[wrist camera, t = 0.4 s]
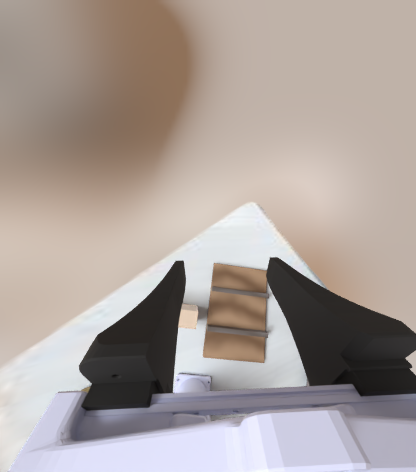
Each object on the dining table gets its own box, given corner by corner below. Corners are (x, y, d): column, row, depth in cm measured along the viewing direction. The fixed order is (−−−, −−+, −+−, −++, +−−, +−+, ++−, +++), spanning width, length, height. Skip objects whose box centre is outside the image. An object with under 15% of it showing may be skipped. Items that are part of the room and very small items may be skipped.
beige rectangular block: (195, 320, 37) (195, 329, 31) (143, 314, 36) (133, 322, 30) (197, 305, 38) (198, 311, 32) (146, 299, 37) (138, 304, 31)
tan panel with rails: (262, 360, 36) (267, 366, 34) (202, 355, 35) (203, 361, 33) (265, 270, 42) (269, 270, 39) (213, 263, 41) (215, 262, 38)
